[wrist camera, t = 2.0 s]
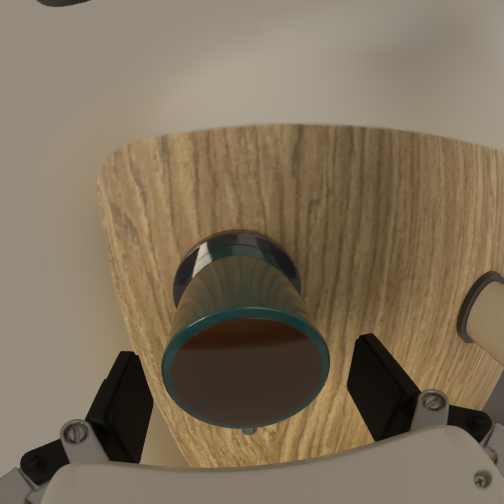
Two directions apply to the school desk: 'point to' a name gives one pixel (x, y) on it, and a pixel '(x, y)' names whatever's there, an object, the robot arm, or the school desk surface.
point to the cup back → (488, 320)
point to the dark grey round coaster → (470, 300)
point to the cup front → (243, 343)
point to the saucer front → (228, 240)
